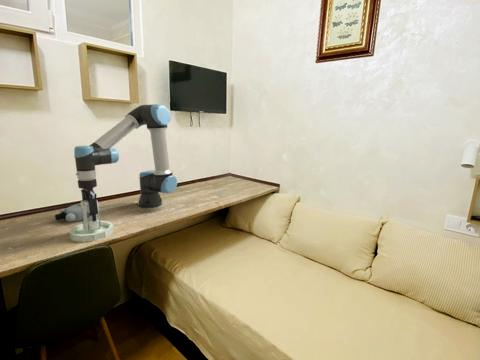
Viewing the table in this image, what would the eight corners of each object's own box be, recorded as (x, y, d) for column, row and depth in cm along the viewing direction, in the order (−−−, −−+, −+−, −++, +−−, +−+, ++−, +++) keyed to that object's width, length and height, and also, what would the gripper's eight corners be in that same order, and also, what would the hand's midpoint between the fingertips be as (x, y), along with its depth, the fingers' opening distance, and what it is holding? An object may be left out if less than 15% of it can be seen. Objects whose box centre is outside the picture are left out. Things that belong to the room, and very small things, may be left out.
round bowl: (105, 223, 136) (104, 218, 136) (119, 233, 124) (119, 227, 124) (65, 233, 123) (65, 227, 122) (77, 245, 111) (76, 239, 110)
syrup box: (96, 225, 127) (93, 198, 124) (101, 228, 123) (98, 200, 120) (83, 229, 123) (80, 200, 120) (88, 232, 119) (85, 203, 116)
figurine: (91, 209, 156) (53, 221, 142) (88, 197, 153) (49, 207, 139) (102, 216, 145) (62, 230, 131) (99, 203, 142) (58, 215, 128)
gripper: (71, 177, 121) (77, 222, 126) (84, 183, 109) (90, 233, 114) (88, 175, 127) (93, 218, 132) (103, 181, 114) (107, 228, 119)
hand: (92, 225), depth 123 cm, fingers closed on syrup box, 6 cm apart
